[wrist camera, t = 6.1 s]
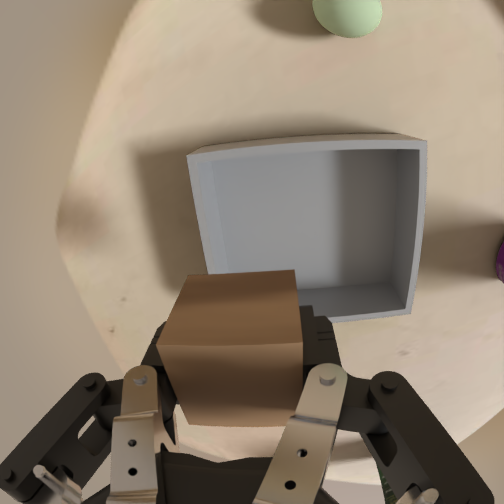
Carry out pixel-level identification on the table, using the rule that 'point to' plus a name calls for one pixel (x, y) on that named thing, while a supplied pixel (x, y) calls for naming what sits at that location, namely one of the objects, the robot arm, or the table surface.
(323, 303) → the tub
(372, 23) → the ball
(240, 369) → the block
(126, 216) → the table surface
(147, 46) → the table surface
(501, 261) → the beverage can
